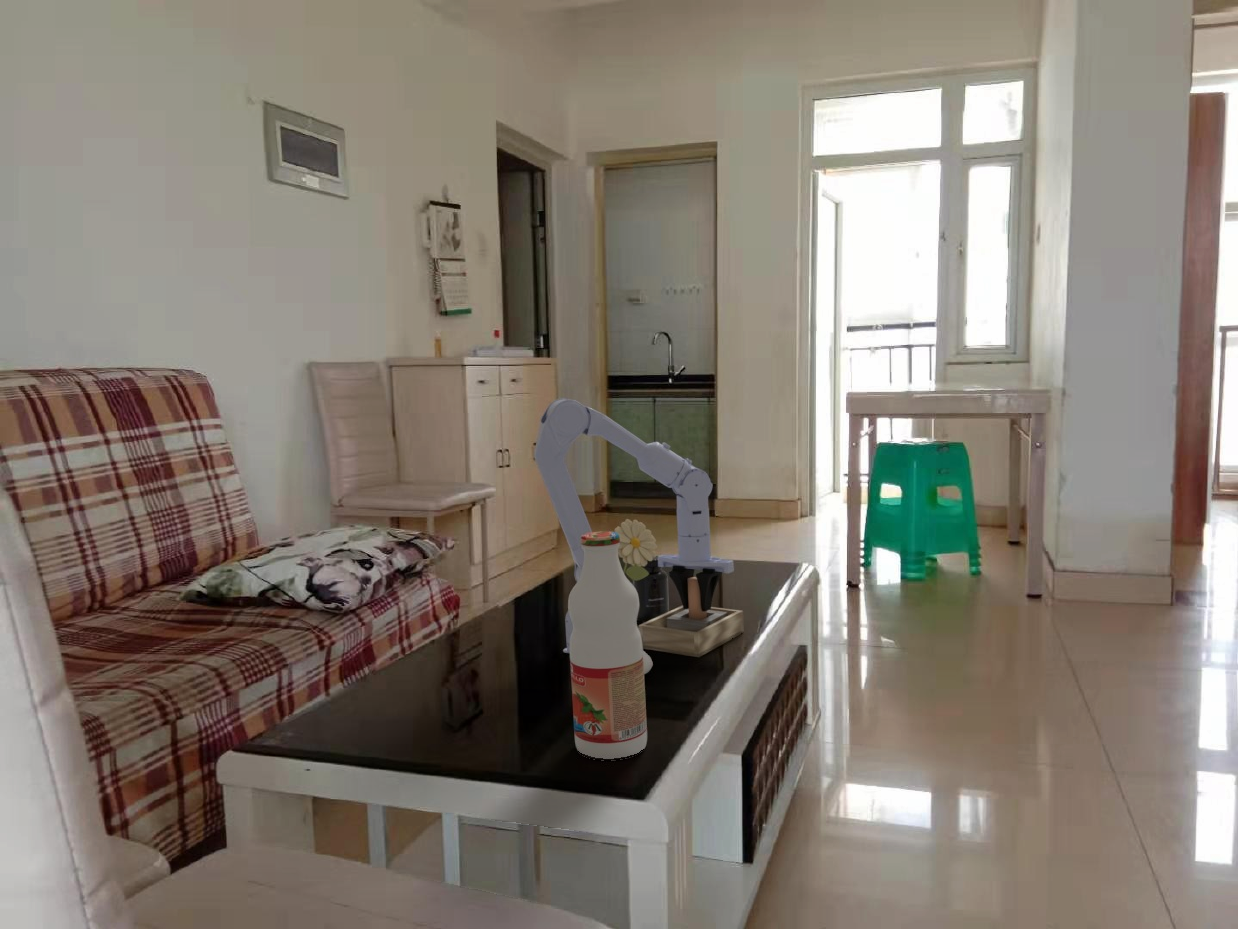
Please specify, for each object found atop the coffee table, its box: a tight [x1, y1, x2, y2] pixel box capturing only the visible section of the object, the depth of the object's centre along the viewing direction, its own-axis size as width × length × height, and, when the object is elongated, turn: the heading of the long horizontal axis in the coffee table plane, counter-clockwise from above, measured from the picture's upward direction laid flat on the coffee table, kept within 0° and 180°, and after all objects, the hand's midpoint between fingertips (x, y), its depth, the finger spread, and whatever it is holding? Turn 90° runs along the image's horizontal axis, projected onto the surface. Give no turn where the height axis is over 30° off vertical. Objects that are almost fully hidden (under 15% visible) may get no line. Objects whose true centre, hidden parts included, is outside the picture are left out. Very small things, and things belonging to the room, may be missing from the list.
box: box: [637, 605, 745, 658], centre depth 165 cm, size 16×12×4 cm
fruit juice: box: [567, 530, 648, 759], centre depth 119 cm, size 9×9×28 cm
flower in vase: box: [614, 518, 658, 675], centre depth 147 cm, size 13×11×25 cm
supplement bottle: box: [632, 555, 670, 623], centre depth 180 cm, size 7×7×12 cm
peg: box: [687, 576, 707, 620], centre depth 166 cm, size 3×3×9 cm
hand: (697, 609), depth 166 cm, fingers closed on peg, 3 cm apart
